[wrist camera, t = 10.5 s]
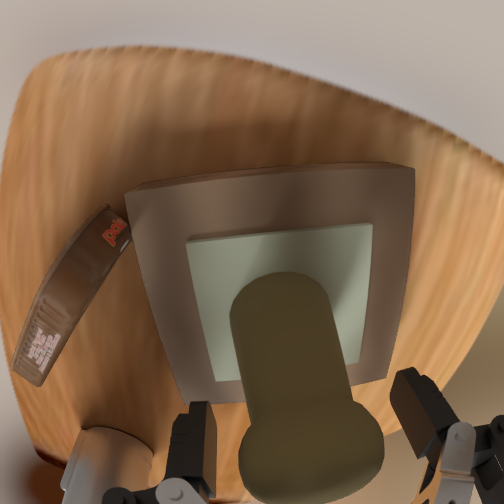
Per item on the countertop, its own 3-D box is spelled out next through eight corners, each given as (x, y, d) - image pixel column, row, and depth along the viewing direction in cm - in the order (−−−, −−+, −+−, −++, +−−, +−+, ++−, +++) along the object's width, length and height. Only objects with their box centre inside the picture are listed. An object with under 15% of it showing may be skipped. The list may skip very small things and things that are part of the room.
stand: (189, 373, 24) (183, 408, 20) (143, 183, 18) (120, 195, 14) (371, 350, 24) (387, 381, 20) (386, 162, 18) (418, 169, 14)
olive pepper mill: (260, 369, 18) (276, 527, 8) (208, 302, 16) (185, 491, 6) (344, 329, 18) (414, 480, 7) (306, 251, 15) (397, 427, 5)
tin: (123, 189, 18) (53, 227, 10) (158, 219, 19) (108, 277, 11) (44, 320, 21) (-2, 380, 13) (70, 342, 22) (30, 407, 14)
